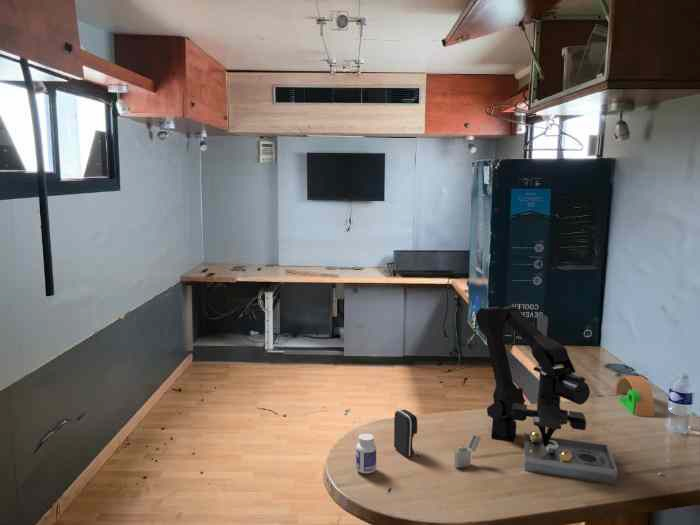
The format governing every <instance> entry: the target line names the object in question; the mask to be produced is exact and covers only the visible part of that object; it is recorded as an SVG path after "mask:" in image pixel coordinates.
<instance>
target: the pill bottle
mask: <svg viewBox="0 0 700 525" xmlns="http://www.w3.org/2000/svg"><path fill="white" fill-rule="evenodd" d="M355 452H356V453H355V467H356V468H355V469H356V470H357V472H360V474H361V473H362V474H371V473H374V472H375V471H376V469H377V445H376V444H375V436H374V434H371V433H361V434H359V436H358V443H357V444H356V447H355Z"/></svg>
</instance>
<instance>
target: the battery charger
mask: <svg viewBox="0 0 700 525" xmlns="http://www.w3.org/2000/svg"><path fill="white" fill-rule="evenodd" d="M393 420H394V421H393V423H394V424H393V428H394V429H393V431H394V432H393V436H394V438H393V439H394V440H393V447H394V448H395V449H396V450H398V451H399V452H400V453H401V454H402V455H403V456H406V457H410V456H413V455H414V454H415V451H414V449H413V438H414V436H415V435H416V434H417V433H418V419H417V416H416V415H415V414H413V413H412V412H410V411H408V410H407V409H401V410H397V411H395V412H394V419H393Z"/></svg>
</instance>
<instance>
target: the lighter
mask: <svg viewBox="0 0 700 525" xmlns="http://www.w3.org/2000/svg"><path fill="white" fill-rule="evenodd" d="M481 439H482V437H481V436H480V435H478V434H476V433H473V435H472V437H471V439H470V442H469V443H468V446H467V445H461V446H459V447H458V449H455V450H454V457H453V458H454V459H453V466H454V467H455V468H457V469H462V468H466V467H470V466H471V458H472V454H471V453H472V452H476V450H477V448H478V445H479V444H480V442H481Z"/></svg>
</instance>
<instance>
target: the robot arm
mask: <svg viewBox="0 0 700 525" xmlns="http://www.w3.org/2000/svg"><path fill="white" fill-rule="evenodd" d="M475 320H476V324H477V326H478V329H479V331H480V332H481V333H482V335H483V336H484V337H485V338H486V342H487V347H488V352H489V356H490V357H489V358H490V363H491V366H492V370H493V372H492V373H493V376H494V380H495V388H494V391H493V395H492V396H493V403H492V404H490V405H489V406H488V407H486V412H487V416H488V417H490V418H491V419H492V424H491V425H492V426H491V433H490V434H491V435H490V438H491V439H495V440H500V441H501V440H502V441H507V442H514V440H515V438H516V437H517V436H516V435H517V434H516V433H517V421H520V422H524V421H526V420H527V418H528V417H529V418H533V420H532V421H533V426H535V427H537V428H538V431H539V432H540V433H541V435H542V439H543V443H544V446H545V447H546V446H547V444H548V442H549V440H550V438H551V437H553V434H554V433H555V431H557V430H561V429H562V425H568V423H569V425H570V427H571V428H572V429H574V430H580V431H585V430H587V429H586V428H587V420H586V415H585V414H584V413H583V412H580V411H574V410H573V411H572V410H567V409H561V399H562V398H563V399H565V400H567V401H569V402H572V403H574V404H577V405H581V406H582V405H583V404H585V403H586V402H587V400H588V399H589V397H590V395H591V394H590V392H591V390H590V386H589V384H588V383H586V378H585V377H584V376H581V375H579V376H578V375H575V373H576V369H575V368H574V367H575V366H574V365H573V363H572V360H571V358H570V356H569V354H568V350H567V348H566V347H565V346H564V345H562V344H561V343H559V341H556V339H553V338H550V337H547V336H546V335H544V334H543V333H542V332H541V331H540V330H539V329H538V328H537V327H536V326H535V325H534V324H533V323H532V322H531V321H530V320H529V319H528V318H527V317H526V316H525V315H523V314H522V313H521V311H520V309H519V308H518V307H517V306H513V305H511V306H503V307H502V308H501V307H499V306H492V307H482V308H479V309H478V310H477V313H476V314H475ZM507 325H508V326H509V327H510V328H511V329H512V330H513V331H514V332H515V333H516V334H517V335H518V336H519V337H520V338H521V340H523V341H524V343H526V344H527V345H528V347H529V348H530V349H531V353H532V354H531V355H532V357H533V358H534V359H535V361H536V362H537V366H534V367H533V371H536V372H537V373H539V376H538V378H539V380H538V388H537V390H538V392H537V402H536V409H529V408H528V405H527V404H525V402H526V399H525V397H524V390H523V388H522V387H517V385H516V383H514V379H513V374H512V372H511V367H510V361H509V357H508V352H507V348H506V344H505V339H504V332H505V329H506V326H507ZM562 366H563V367H562ZM556 367H557V368H556ZM558 367H559V368H558Z"/></svg>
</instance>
